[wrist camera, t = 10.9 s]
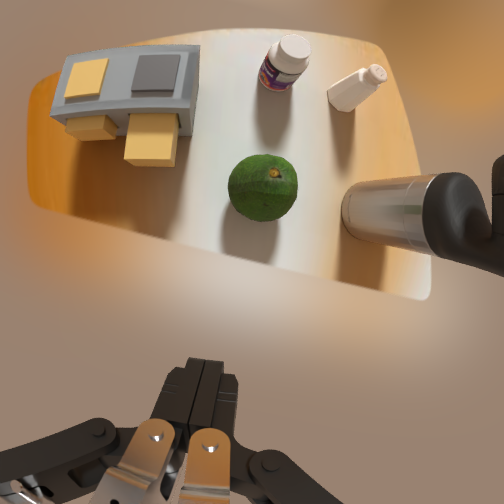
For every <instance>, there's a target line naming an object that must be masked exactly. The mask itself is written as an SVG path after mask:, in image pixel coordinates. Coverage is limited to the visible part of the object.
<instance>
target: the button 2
mask: <svg viewBox="0 0 504 504" xmlns="http://www.w3.org/2000/svg"><path fill="white" fill-rule="evenodd" d="M179 124H180V119H179V114H178V113H131V114H130V120H129V125H128V132H127V138H126V146H125V153H124V159H125V160H126V161H128V162H129V163H131V164H132V165H134V166H161V167H175V157H176V148H177V139H178V131H179Z"/></svg>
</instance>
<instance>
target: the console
mask: <svg viewBox="0 0 504 504" xmlns="http://www.w3.org/2000/svg"><path fill="white" fill-rule="evenodd" d="M199 60H200V45H143V46H129V47H119V48H110V49H103V50H96V51H90V52H84V53H79V54H73V55H69V56H67V58H66V61H65V64H64V67H63V70H62V73H61V76H60V79H59V82H58V86H57V89H56V93H55V96H54V100H53V104H52V108H51V112H50V117H52V118H54V119H55V120H57V121H59V122H60V123H62V124H63V125H65V126H66V124H67V119H68V118H75V117H85V116H95V115H108V116H109V117H110V118H111V119H112V120H113V122H114V123H115V124H116V125H117V126H118V127H117V133H116V136H127V132H128V125H129V120H130V114H131V113H178V114H179V119H180V124H179V131H178V136H192V132H193V124H194V116H195V108H196V101H197V94H198V87H199Z"/></svg>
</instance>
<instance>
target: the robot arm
mask: <svg viewBox="0 0 504 504" xmlns="http://www.w3.org/2000/svg"><path fill="white" fill-rule="evenodd" d="M492 196H493V197H492V225H491V223H490V220H489V218H488V215H487V211H486V208H485V204H484V201H483V198H482V195H481V193H480V191H479V189H478V187H477V185H476V184H475V183H474V181H473V180H472V179H471V178H470V177H468V176H467V175H465V174H462V173H456V172H452V173H441V174H430V175H419V176H409V177H400V178H391V179H383V180H373V181H366V182H360V183H357V184H355V185H353V186H352V187H351V188H350V189H349V190H348V191H347V193H346V194H345V196H344V199H343V202H342V218H343V222H344V224H345V227H346V228H347V230H348V231H349V232H350V233H351V234H352V235H353V236H354V237H356V238H358V239H361V240H365V241H369V242H374V243H378V244H383V245H388V246H392V247H397V248H401V249H406V250H410V251H415V252H419V253H423V254H428V255H432V256H437V257H441V258H444V259H448V260H453V261H455V262H459V263H462V264H466V265H470V266H474V267H476V268H479V269H482V270H485V271H488V272H491V273H494V274H497V275H499V276H502V277H504V155H502V156H501V157H499V158H498V159H497V160H496V161H495V162H494V164H493V167H492ZM237 395H238V382H237V379H236V377H235V375H233V374H224V362H222V361H213V360H205V359H197V358H190V357H189V358H188V360H187V363H186V366H185V368H180V367H175V368H174V369H173V370H172V371H171V372H170V373H168V375H167V378H166V380H165V383H164V385H163V387H162V391H161V392H160V395H159V397H158V400H157V402H156V405H155V407H154V410H153V412H152V414H151V417H150V419H148V420H146V421H144V422H142V423H141V424H140V425H139V427H134V428H115V426H114V425H113V424H112V423H111V422H110V421H109V420H107V419H104V418H93V419H90V420H88V421H86V422H83V423H81V424H78V425H76V426H74V427H71V428H68V429H66V430H63V431H61V432H58V433H55V434H53V435H50V436H47V437H45V438H42V439H39V440H36V441H33V442H30V443H27V444H24V445H21V446H18V447H15V448H12V449H8V450H5V451H2V452H0V504H62V503H65V502H68V501H71V500H73V499H76V498H79V497H81V496H83V495H86V494H89V493H91V492H93V491H95V492H94V494H93V496H92V498H91V500H90V502H89V504H171V500H172V498H173V495H174V492H175V490H176V487H177V484H178V481H179V478H180V475H181V472H182V470H183V461H184V457H185V453H188V457H187V464H186V471H185V479H184V486H183V487H182V488H181V490H180V494H179V501H178V504H229V502H230V499H229V498H230V492H229V491H233V492H235V493H238V494H241V495H244V496H246V497H247V498H248V500H249V501H250V502H251V503H252V504H343V503H342V502H341V501H339V500H338V499H337V498H335V497H334V496H333V495H332V494H330V493H329V492H328V491H326V490H325V489H324V488H323V487H322V486H321V485H319V484H318V483H317V482H316V481H315V480H313V479H312V478H311V477H310V476H309V475H308V474H306V473H305V472H304V471H303V470H302V469H301V468H300V467H299V466H297V464H295V463H294V462H293V461H292V460H291V459H290V458H289V457H288V456H287V455H285V454H284V453H282V452H280V451H277V450H263V451H260V452H256V451H253V450H250V449H247V448H245V447H243V446H241V445H240V444H239V443H238V442H237V441H236V440H235V438H234V436H233V435H234V426H235V418H236V409H237V397H238V396H237Z"/></svg>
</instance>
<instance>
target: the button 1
mask: <svg viewBox="0 0 504 504" xmlns="http://www.w3.org/2000/svg"><path fill="white" fill-rule="evenodd" d="M117 127H118V126H117V125H116V124H115V123H114V122H113V120H112V119H111V118H110V117H109V116H108V115H95V116H85V117H75V118H68V119H67V124H66V129H65V132H66V133H68V134H69V135H71V136H73V137H75V138H77V139H78V140H80V141H91V140H110V139H116V133H117Z"/></svg>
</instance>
